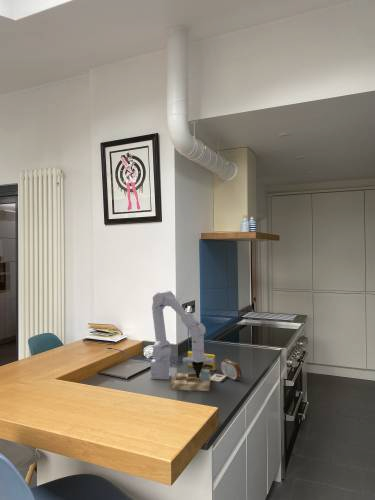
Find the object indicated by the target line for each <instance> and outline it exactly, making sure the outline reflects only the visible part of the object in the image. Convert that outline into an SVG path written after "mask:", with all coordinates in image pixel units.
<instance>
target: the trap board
mask: <svg viewBox="0 0 375 500" xmlns="http://www.w3.org/2000/svg"><path fill="white" fill-rule="evenodd" d="M211 375H212V373H210V379H209V381H204V380H201V373H200V376H199V378H197V376H196V372H187V373H179V372H178V373H176V372H175V373H174V375H173V378H171V379H172V380H171V382H170V390H173V391H198V392H199V391H200V392H201V391H203V392H205V391H206V392H210V387H211V382H212V381H211Z"/></svg>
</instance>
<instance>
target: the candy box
mask: <svg viewBox="0 0 375 500" xmlns="http://www.w3.org/2000/svg"><path fill="white" fill-rule="evenodd" d="M187 357H192V350H191V351H190V350H189V351H187ZM204 357H205V358H213V363H203V366H202V368H201V369H206V370H210V371H216V355H215V354H210V353H209V354H208V353H204ZM192 364H193V362H187V367H192V368H194V367H193V365H192Z"/></svg>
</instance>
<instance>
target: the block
mask: <svg viewBox="0 0 375 500" xmlns="http://www.w3.org/2000/svg"><path fill="white" fill-rule="evenodd" d="M210 372H211V370H208V369H202V368H201V371H200V374H201V380H204V381H209V379H210V374H211V373H210Z"/></svg>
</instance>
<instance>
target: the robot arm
mask: <svg viewBox="0 0 375 500" xmlns="http://www.w3.org/2000/svg"><path fill="white" fill-rule="evenodd" d="M166 307H171V309H172V310H174V311H175V313H176V314H178V316H179V317H180V320H181V322H182V323H183V324H184V325H185V326H186V328H187V329H188V331H189V335H190V337H191V352H192V357H188V356H186V357H183V358H182V363H184V364H185V363H188V362H193V364H192V365H193V367H192V368H193V370H194V373H196V376H197V378H199V376H200V374H201V369H202V366H203V363H213V358H205V357H204V354H205V347H204V346H205V339H204V338H205V336H204V335H206V332H207V328H206V326H205V325H204V323H200V322H199V321H198V320H197V319H196V318H195V317H194V314H193V313H191V312H187V311H186V310H185V309H184V308H183V306H182V305H181V303H180V302H179V300H177V298H176V294H175V295H174V293H173V292H172V291H171V290H166V291H161V292H156V293H155V294H154V295H153V296H152V305H151V310H152V311H151V312H152V319H153V329H154V336H155V342H154V344H153V345H152V352H151V354H152V357H153V359H152V358H151V362H150V379H151V380H152V379H153V380H169V379H170V378H171V375H172V373H171V372H170V359H171V356H172V354H173V348H172V347H171V343H170V341H169V340H167V333H166V324H165V318H164V309H165V308H166Z"/></svg>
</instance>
